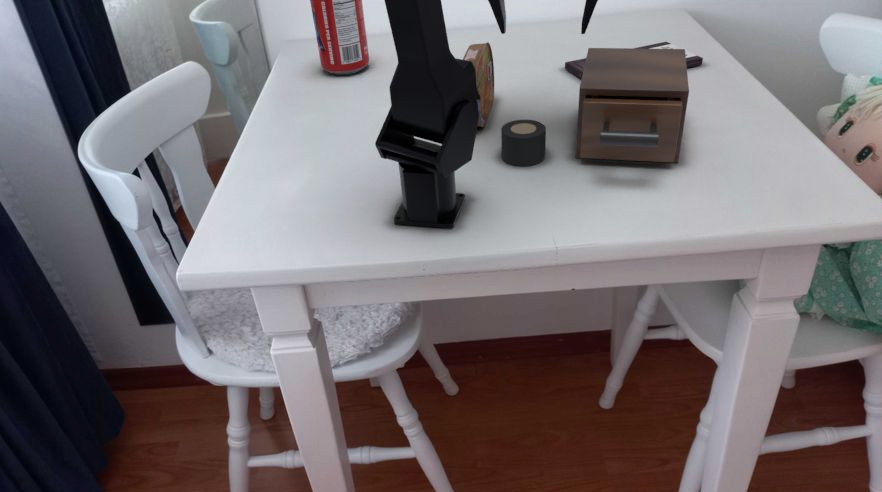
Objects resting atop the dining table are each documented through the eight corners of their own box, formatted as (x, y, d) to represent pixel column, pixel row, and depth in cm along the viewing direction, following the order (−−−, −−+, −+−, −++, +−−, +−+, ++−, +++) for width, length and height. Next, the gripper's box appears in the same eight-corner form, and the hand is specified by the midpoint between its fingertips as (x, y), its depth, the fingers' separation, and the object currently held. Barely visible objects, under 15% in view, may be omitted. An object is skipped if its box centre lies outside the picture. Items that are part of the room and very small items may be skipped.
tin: (480, 138, 89) (478, 73, 84) (456, 137, 89) (453, 73, 84) (496, 92, 101) (495, 33, 96) (475, 92, 101) (472, 34, 96)
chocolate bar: (565, 62, 106) (666, 41, 110) (564, 68, 106) (665, 47, 111) (596, 81, 99) (702, 58, 103) (595, 87, 99) (702, 64, 104)
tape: (542, 167, 81) (542, 138, 79) (498, 165, 83) (497, 136, 80) (547, 147, 85) (548, 120, 83) (505, 146, 87) (505, 118, 84)
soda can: (350, 80, 109) (335, -22, 100) (312, 73, 112) (294, -26, 104) (379, 63, 114) (368, -35, 105) (342, 58, 118) (327, -38, 109)
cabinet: (678, 163, 80) (689, 91, 75) (575, 158, 83) (579, 88, 78) (675, 115, 90) (684, 49, 85) (584, 112, 93) (588, 47, 88)
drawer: (674, 180, 75) (683, 121, 71) (576, 175, 77) (580, 117, 73) (671, 117, 88) (679, 64, 84) (587, 114, 90) (591, 62, 86)
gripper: (640, -135, 76) (626, 13, 85) (472, -127, 80) (475, 13, 89) (641, -121, 67) (625, 41, 77) (452, -113, 71) (459, 40, 81)
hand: (542, 32), depth 81 cm, fingers open, 9 cm apart
